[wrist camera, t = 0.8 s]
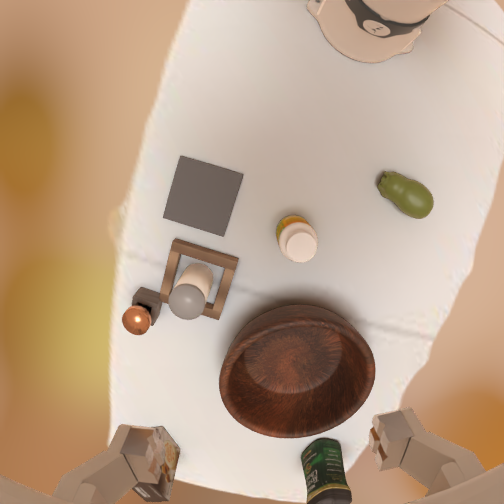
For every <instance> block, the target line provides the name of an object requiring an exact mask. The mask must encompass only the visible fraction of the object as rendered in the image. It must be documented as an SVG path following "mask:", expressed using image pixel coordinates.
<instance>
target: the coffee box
mask: <svg viewBox="0 0 504 504" xmlns="http://www.w3.org/2000/svg"><path fill="white" fill-rule="evenodd" d="M154 428H157V429H158V430H159V432H160V438H159V439H160V440H161V441H163V443H164V446H165V461H164V464H162V465H161V466H160V469H161V471H162V472H161V476H160V479H159V483H158V484H154V483H145V482H138V483H137V484H136V485H135V486H134V487H133V488H132V489H133V490H134V491H135V492H136V493H137V494H138V495H139V496H140V497H142V498H143V499H144V500H145V501H147V502H162V501H169V499H170V495H171V490H172V485H173V481H174V476H175V472H176V467H177V463H178V458H179V454H180V448H179V447H178V446H177V444H176V443H175V442H174V440H173V439H172V438H171V437H170V435H169V434H168V433H167V431H166V430H165V429H164V427H162V426H161V427H154Z"/></svg>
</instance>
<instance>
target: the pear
mask: <svg viewBox="0 0 504 504" xmlns="http://www.w3.org/2000/svg"><path fill="white" fill-rule="evenodd" d="M378 189H379V191H380V192H381V195H382V196H383V197H385V198H388V199H389V200H391V201H392V202H394V203H395V204H396V205H397V206H398V208H399V209H400V210H401V211H402V212H403V213H405V214H406V215H408V216H410V217H412V218H416V219H421V218H424V217H426V216H427V215H428V214H429V213H430V212H431V210H432V208H433V203H434V201H433V196H432V194H431V193H430V191H429V190H428V189H427V188H426V187H425V186H424V185H423V184H421V183H420V182H418V181H415V180H411V179H407V178H406V177H404V176H402V175H401V174H398V173H396V172H386V171H385V172H384V176H383V177H382V179H381V181H380V184H378Z"/></svg>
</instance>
